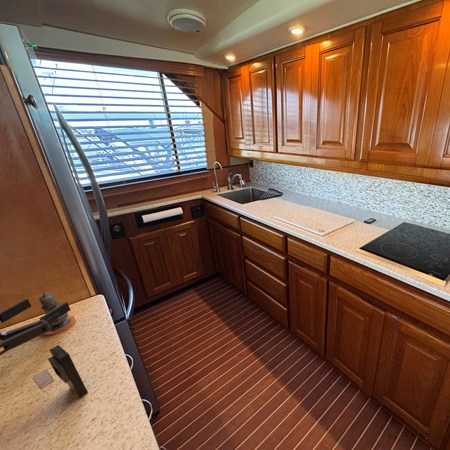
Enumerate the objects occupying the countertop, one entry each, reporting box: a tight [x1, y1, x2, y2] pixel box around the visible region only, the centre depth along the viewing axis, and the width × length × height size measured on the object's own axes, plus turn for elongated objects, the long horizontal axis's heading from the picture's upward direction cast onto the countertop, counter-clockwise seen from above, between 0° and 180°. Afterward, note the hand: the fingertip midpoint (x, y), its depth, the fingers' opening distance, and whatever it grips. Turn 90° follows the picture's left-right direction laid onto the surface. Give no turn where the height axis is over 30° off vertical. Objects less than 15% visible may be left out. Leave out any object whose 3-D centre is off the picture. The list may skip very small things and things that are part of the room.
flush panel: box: [47, 344, 89, 399], centre depth 52 cm, size 2×5×12 cm, turn 62°
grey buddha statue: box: [38, 291, 71, 331], centre depth 71 cm, size 6×6×12 cm
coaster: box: [43, 315, 78, 337], centre depth 73 cm, size 8×8×1 cm
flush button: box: [32, 369, 55, 391], centre depth 49 cm, size 2×3×3 cm, turn 62°
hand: (48, 304), depth 70 cm, fingers open, 13 cm apart
